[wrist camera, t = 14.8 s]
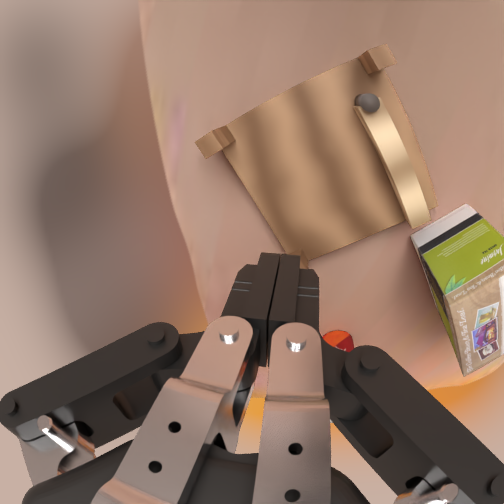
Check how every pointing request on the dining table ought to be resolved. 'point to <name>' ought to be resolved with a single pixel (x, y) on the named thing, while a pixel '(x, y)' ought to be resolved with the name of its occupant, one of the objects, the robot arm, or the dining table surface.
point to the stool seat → (321, 159)
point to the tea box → (466, 283)
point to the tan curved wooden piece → (393, 158)
